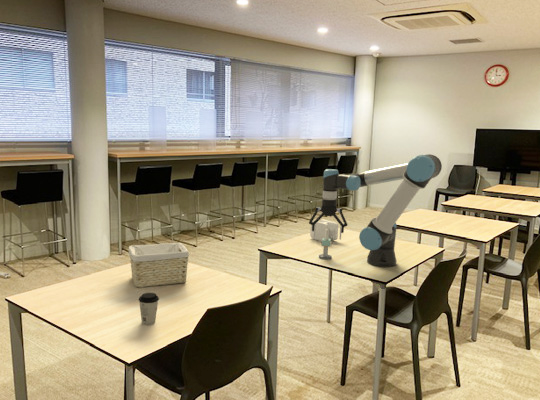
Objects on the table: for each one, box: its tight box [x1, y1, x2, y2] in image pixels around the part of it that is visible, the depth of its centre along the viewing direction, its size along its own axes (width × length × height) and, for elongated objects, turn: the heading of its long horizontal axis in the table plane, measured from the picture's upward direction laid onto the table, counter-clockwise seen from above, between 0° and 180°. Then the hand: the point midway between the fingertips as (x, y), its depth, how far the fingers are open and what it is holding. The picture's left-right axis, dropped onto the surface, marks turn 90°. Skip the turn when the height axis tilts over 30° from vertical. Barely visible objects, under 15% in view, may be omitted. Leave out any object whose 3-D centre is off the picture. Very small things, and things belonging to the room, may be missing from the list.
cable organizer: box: [309, 218, 339, 243], centre depth 296 cm, size 15×11×12 cm
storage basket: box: [128, 242, 190, 288], centre depth 211 cm, size 24×16×15 cm
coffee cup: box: [138, 292, 160, 326], centre depth 169 cm, size 7×7×10 cm
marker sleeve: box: [321, 238, 332, 247], centre depth 257 cm, size 4×4×3 cm
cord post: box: [318, 229, 332, 261], centre depth 258 cm, size 7×7×16 cm
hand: (327, 238), depth 257 cm, fingers open, 13 cm apart
